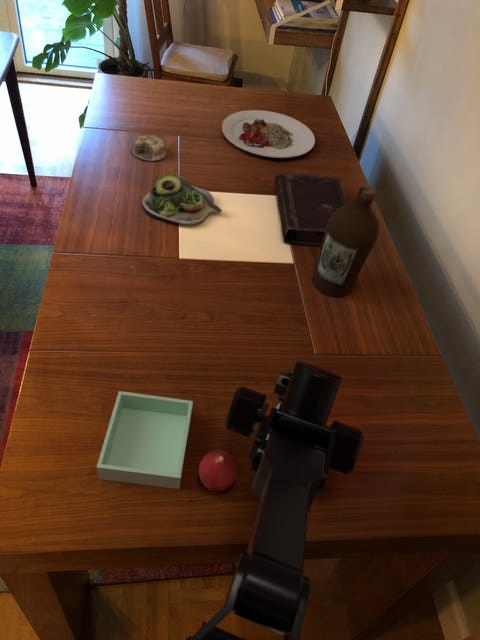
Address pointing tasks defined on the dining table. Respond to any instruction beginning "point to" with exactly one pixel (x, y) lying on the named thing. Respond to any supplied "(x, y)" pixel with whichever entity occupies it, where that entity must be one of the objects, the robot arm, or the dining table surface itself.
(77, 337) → the dining table surface
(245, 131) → the plated food
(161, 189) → the avocado toast plate
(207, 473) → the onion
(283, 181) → the diary
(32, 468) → the dining table surface
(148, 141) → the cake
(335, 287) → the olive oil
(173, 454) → the shallow open tray
